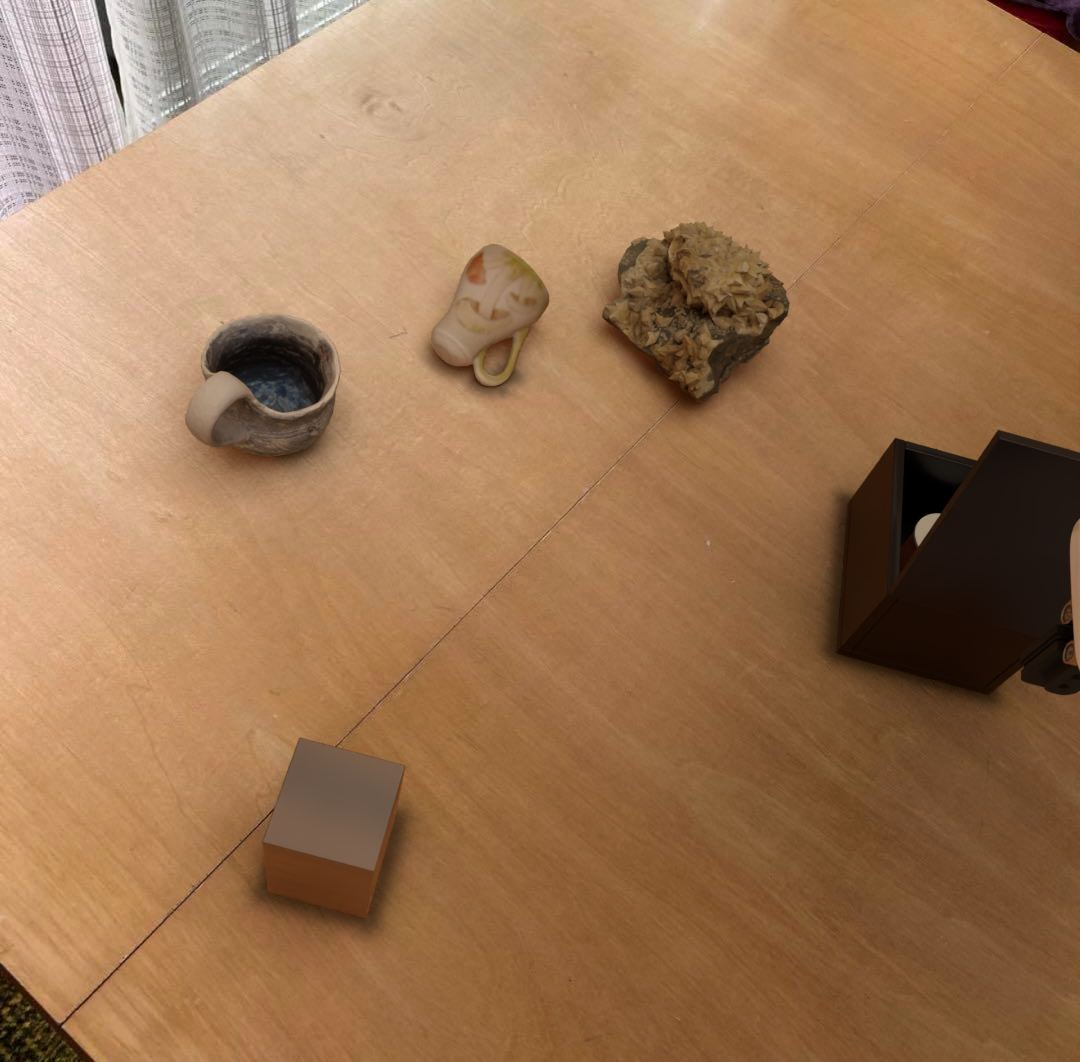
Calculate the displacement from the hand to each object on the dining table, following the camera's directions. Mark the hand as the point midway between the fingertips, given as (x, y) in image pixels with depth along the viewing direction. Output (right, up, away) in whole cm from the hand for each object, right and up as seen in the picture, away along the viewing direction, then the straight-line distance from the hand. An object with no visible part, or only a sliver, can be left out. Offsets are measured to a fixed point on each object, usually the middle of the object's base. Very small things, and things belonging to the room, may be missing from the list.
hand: (1045, 675), depth 64 cm
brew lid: (+2, +8, +6) cm, 10 cm away
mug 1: (-48, +15, +21) cm, 55 cm away
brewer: (0, +3, +23) cm, 23 cm away
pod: (+1, +5, +23) cm, 24 cm away
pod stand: (-41, -12, +6) cm, 43 cm away
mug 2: (-33, +23, +29) cm, 50 cm away
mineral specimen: (-17, +24, +33) cm, 44 cm away
